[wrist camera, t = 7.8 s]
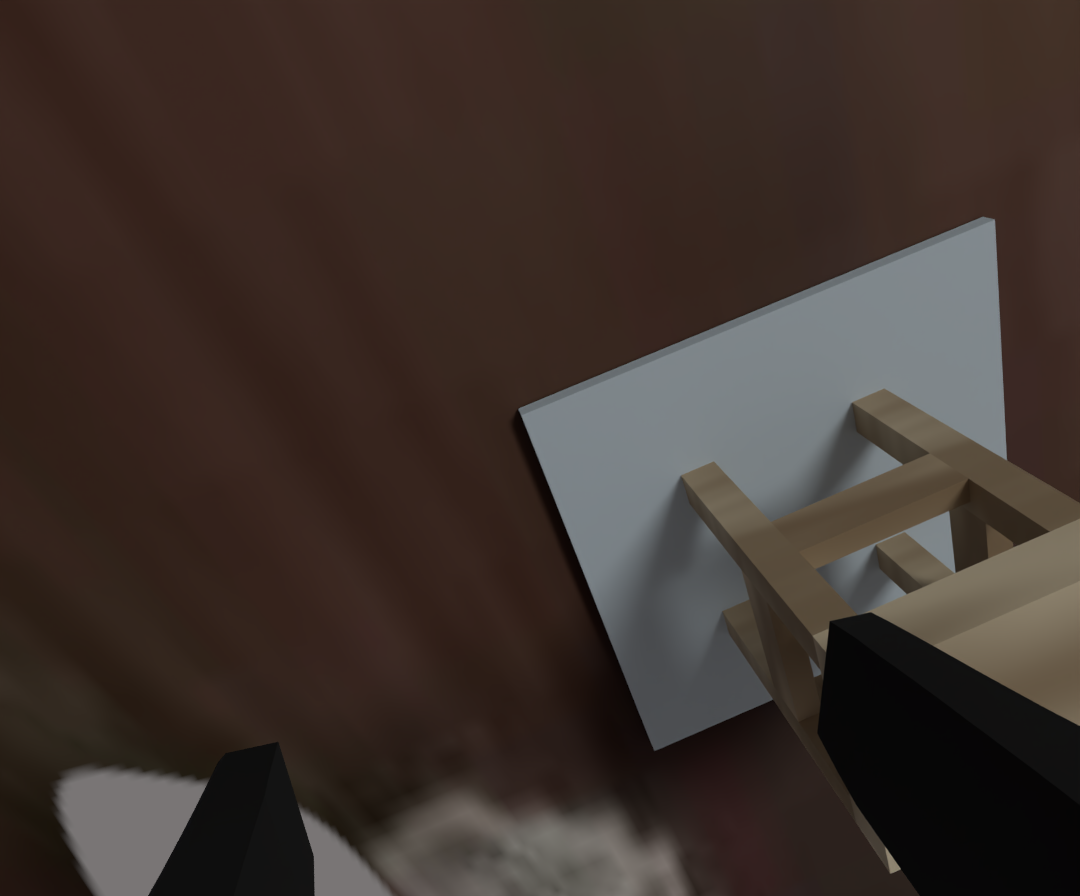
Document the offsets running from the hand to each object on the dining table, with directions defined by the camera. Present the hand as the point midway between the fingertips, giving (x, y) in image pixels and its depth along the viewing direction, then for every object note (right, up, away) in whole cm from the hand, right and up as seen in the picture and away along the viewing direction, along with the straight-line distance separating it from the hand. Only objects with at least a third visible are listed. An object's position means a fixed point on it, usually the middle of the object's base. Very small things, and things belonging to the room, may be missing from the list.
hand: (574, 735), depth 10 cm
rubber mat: (+7, +2, +11) cm, 13 cm away
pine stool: (+7, +2, +11) cm, 13 cm away
